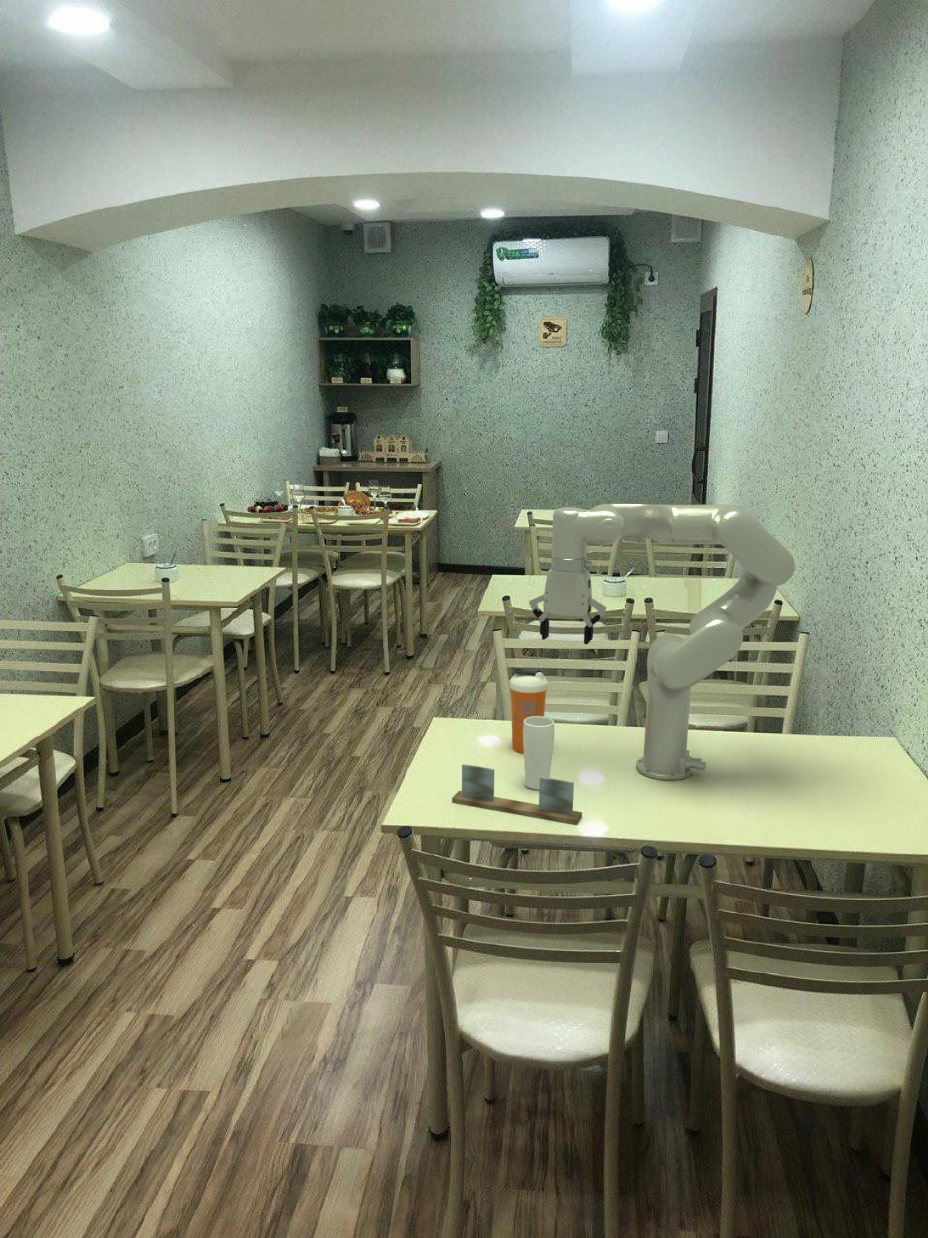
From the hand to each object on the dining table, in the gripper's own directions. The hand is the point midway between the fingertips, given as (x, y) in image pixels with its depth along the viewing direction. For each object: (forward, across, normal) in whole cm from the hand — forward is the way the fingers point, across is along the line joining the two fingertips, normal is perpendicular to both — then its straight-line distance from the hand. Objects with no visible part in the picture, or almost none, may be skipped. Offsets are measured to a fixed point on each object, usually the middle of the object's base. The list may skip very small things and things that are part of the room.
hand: (566, 640), depth 209 cm
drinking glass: (+31, +2, +12) cm, 33 cm away
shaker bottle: (+31, +11, -8) cm, 33 cm away
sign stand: (+30, +2, +25) cm, 39 cm away
